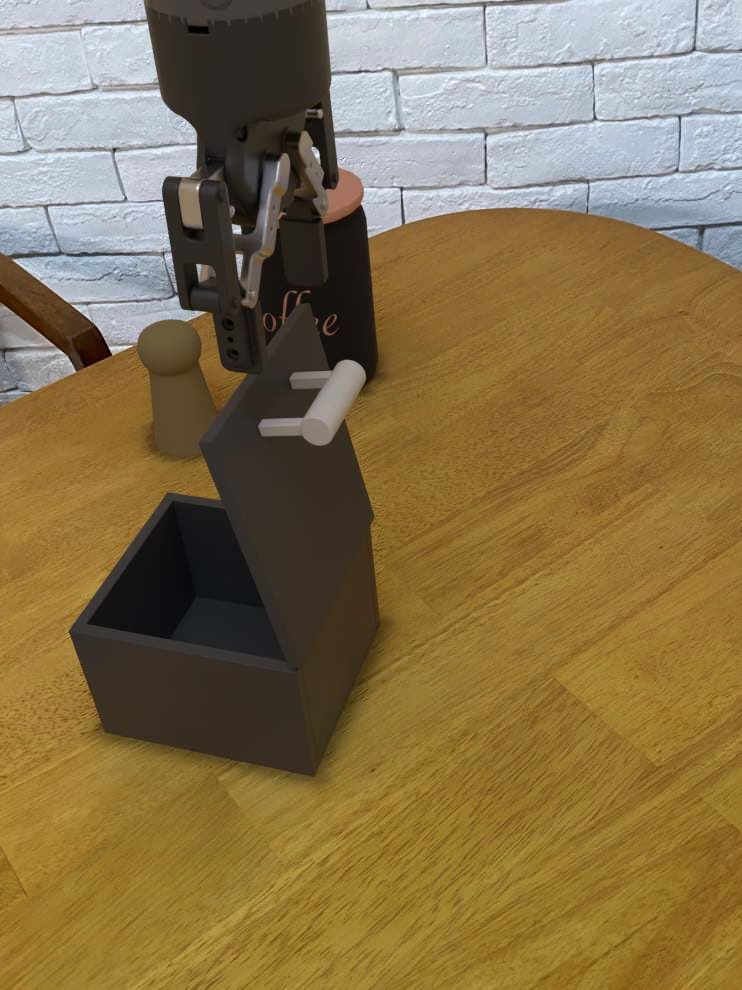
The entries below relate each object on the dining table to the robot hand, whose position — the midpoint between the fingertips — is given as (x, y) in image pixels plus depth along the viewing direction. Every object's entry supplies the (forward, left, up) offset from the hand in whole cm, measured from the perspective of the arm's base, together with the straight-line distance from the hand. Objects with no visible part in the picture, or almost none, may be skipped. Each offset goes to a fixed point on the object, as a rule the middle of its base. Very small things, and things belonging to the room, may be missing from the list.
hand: (278, 324), depth 57 cm
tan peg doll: (-22, +24, -28) cm, 43 cm away
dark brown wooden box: (-6, -1, -28) cm, 28 cm away
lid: (0, -1, -10) cm, 10 cm away
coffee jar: (-14, +36, -28) cm, 48 cm away
